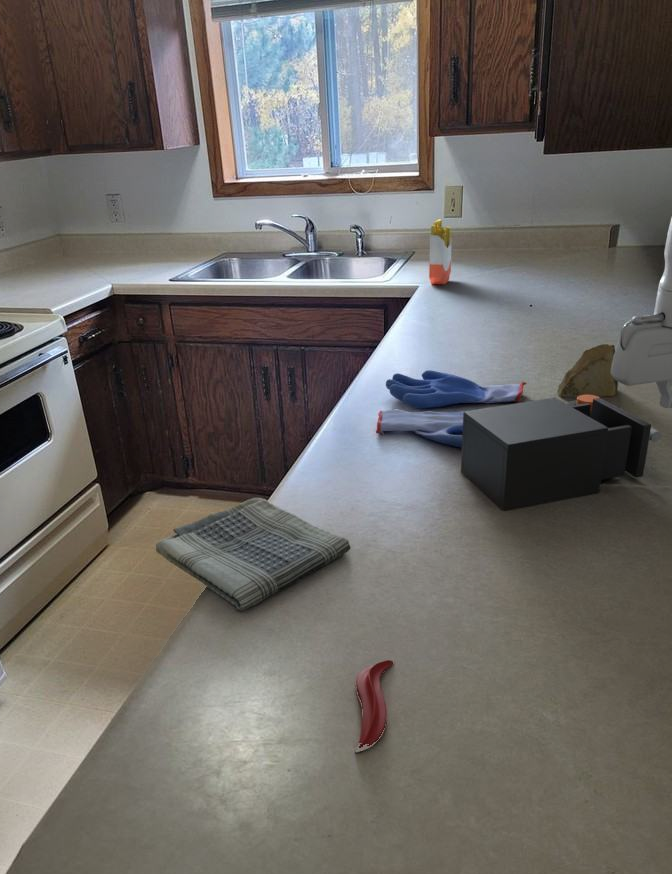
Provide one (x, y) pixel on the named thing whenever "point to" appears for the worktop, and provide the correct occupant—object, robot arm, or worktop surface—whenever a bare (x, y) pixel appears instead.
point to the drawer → (621, 438)
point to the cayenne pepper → (372, 702)
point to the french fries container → (440, 253)
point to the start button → (586, 399)
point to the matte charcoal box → (532, 452)
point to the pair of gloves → (439, 404)
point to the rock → (591, 374)
